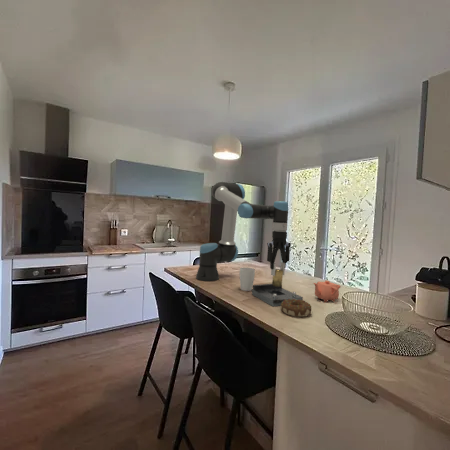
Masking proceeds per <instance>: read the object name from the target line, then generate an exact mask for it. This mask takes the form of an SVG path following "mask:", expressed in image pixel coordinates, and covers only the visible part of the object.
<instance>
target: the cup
mask: <svg viewBox="0 0 450 450" xmlns="http://www.w3.org/2000/svg"><path fill="white" fill-rule="evenodd" d="M255 271H256V270H255V268H253V267H240V268H239V274H238V275H239V284H240V285H239V286H240V290H241V291H245V292H248V291H249V292H252V289H253V285H254V281H255V274H256V272H255Z"/></svg>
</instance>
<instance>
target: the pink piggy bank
mask: <svg viewBox="0 0 450 450" xmlns="http://www.w3.org/2000/svg"><path fill="white" fill-rule="evenodd" d="M312 284H314V287H315V288H314V295H315V297H317V299H318V300H323V302H324V303H328V302H329V300H331V301H332V302H336V300H338V299H339V297H340V292H339V290H340V289H341V285H340V284H336V283H333V282H331V281H330V280H325V281H317V283H316V282H313V283H312Z"/></svg>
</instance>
